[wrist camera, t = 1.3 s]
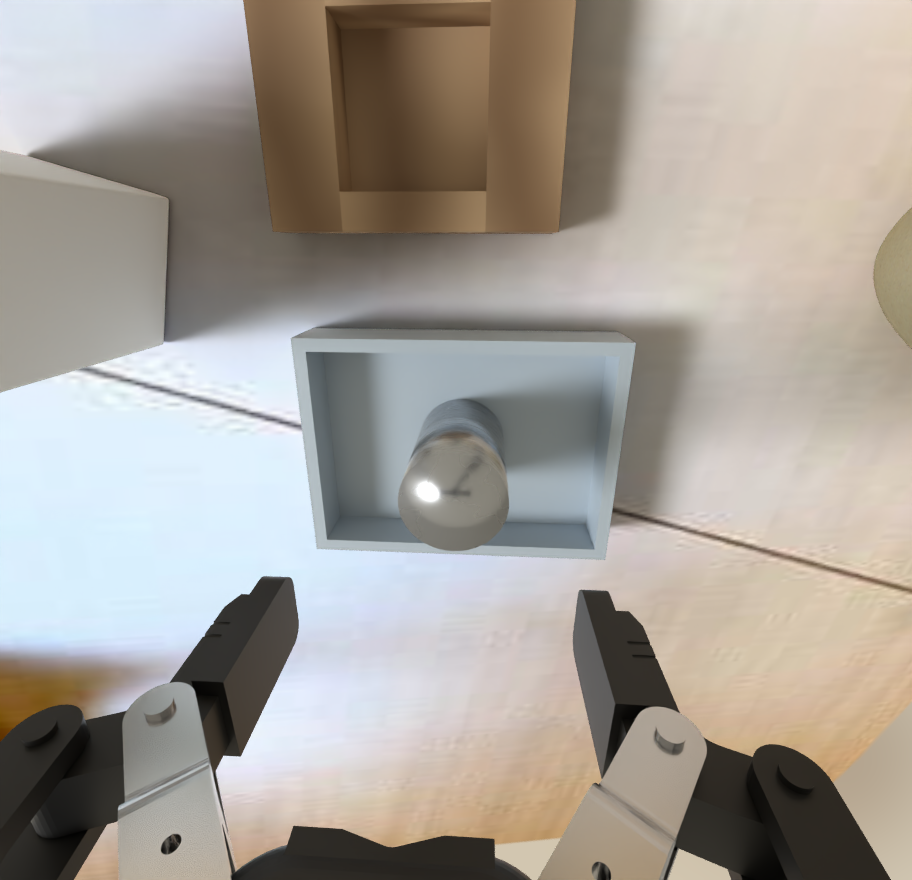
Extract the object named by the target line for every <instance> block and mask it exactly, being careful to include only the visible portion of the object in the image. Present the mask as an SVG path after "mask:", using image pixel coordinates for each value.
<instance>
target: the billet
mask: <svg viewBox="0 0 912 880" xmlns="http://www.w3.org/2000/svg"><path fill="white" fill-rule="evenodd" d="M398 508H399V512H400V516H401V518H402V520H403V522H404V524H405V525H406V527H407V528H408V530H409V531H410V532H411V533H412V534H413V535H414V536H415V537H416V538H418V539H419V540H420V541H422V542H424V543H425V544H427V545H429V546H432V547H434V548H437V549H441V550H446V551H464V550H470V549H474V548H476V547H479V546H481V545H483V544H485V543H487V542H488V541H490V540H491V539H492V538H493V537H494V536H496V535H497V533H498V532H499V531H500V530H501V528H502V527H503V525H504V523H505V521H506V519H507V515H508V511H509V494H508V483H507V471H506V460H505V449H504V437H503V430H502V427H501V424H500V422H499V420H498V418H497V417H496V415H495V414H494V413H493V412H492V411H491V410H490V409H489V408H487V407H486V406H484V405H483V404H481V403H479V402H476V401H473V400H469V399H454V400H449V401H446V402H444V403H442V404H440V405H438V406H437V407H435V408H434V409H433V410H432V411H431V412H430V413H429V414H428V415H427V417H426V418H425V420H424V422H423V425H422V428H421V430H420V433H419V436H418V439H417V441H416V444H415V447H414V450H413V452H412V455H411V458H410V461H409V463H408V466H407V469H406V471H405V474H404V477H403V480H402V482H401V485H400V488H399V493H398Z"/></svg>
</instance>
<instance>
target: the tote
mask: <svg viewBox="0 0 912 880" xmlns="http://www.w3.org/2000/svg"><path fill="white" fill-rule="evenodd" d="M291 344H292V352H293V360H294V368H295V376H296V384H297V392H298V400H299V408H300V417H301V425H302V433H303V441H304V449H305V457H306V465H307V473H308V481H309V489H310V497H311V505H312V513H313V521H314V529H315V537H316V545H317V549H333V550H359V551H386V552H412V553H438V554H465V555H491V556H517V557H544V558H570V559H596V560H605V558H606V551H607V544H608V537H609V530H610V522H611V515H612V508H613V501H614V494H615V487H616V480H617V473H618V466H619V459H620V452H621V445H622V438H623V431H624V424H625V417H626V410H627V403H628V396H629V389H630V382H631V375H632V368H633V361H634V354H635V347H636V343H635V342H634V341H632V340H631V339H629V338H628V337H626V336H624V335H623V334H621V333H620V332H605V331H524V330H443V329H362V328H312V329H310V330H308V331H305V332H303V333H301V334H299V335H297V336H294V337H292V338H291ZM454 399H469V400H473V401H476V402H479V403H481V404H483V405H484V406H486V407H487V408H489V409H490V410H491V411H492V412H493V413H494V414H495V415H496V417H497V418H498V420H499V422H500V424H501V427H502V430H503V437H504V449H505V460H506V471H507V483H508V494H509V511H508V515H507V519H506V521H505V523H504V525H503V527H502V528H501V530H500V531H499V532H498V533H497V535H496V536H494V537H493V538H492V539H491V540H490V541H488V542H487V543H485V544H483V545H481V546H479V547H476V548H474V549H470V550H464V551H446V550H441V549H437V548H434V547H432V546H429V545H427V544H425V543H424V542H422V541H420V540H419V539H418V538H416V537H415V536H414V535H413V534H412V533H411V532H410V531H409V530H408V528H407V527H406V525H405V524H404V522H403V520H402V518H401V516H400V512H399V508H398V493H399V488H400V485H401V482H402V480H403V477H404V474H405V471H406V469H407V466H408V463H409V461H410V458H411V455H412V452H413V450H414V447H415V444H416V441H417V439H418V436H419V433H420V430H421V428H422V425H423V422H424V420H425V418H426V417H427V415H428V414H429V413H430V412H431V411H432V410H433V409H434V408H435V407H437V406H438V405H440V404H442V403H444V402H446V401H449V400H454Z"/></svg>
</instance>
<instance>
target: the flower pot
mask: <svg viewBox="0 0 912 880" xmlns="http://www.w3.org/2000/svg"><path fill="white" fill-rule="evenodd" d="M874 286H875V290H876V295H877V298H878V301H879V303H880V306H881V308H882V311H883V313H884V314H885V316H886V318H887V319H888V321H889V323H890V324H891V325H892V327H893V328H894V330H895V331H896V332H897V333H898V335H899V336H900V337H901V338H902V339H903V340H904V341H905V343H906V344H907V345H908V346H909V347H910V348H911V349H912V208H911V209H910V210H909V211H908V212H907V213H906V214H905V215H904V216H903V217H902V218H901V219H900V220H899V221H898V222H897V224H896V225H895V226H894V227H893V229H892V230H891V231H890V232H889V234H888V235H887V237H886V238H885V240H884V242H883V243H882V245H881V247H880V249H879V252H878V254H877V257H876V261H875V265H874Z"/></svg>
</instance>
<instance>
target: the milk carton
mask: <svg viewBox="0 0 912 880" xmlns="http://www.w3.org/2000/svg"><path fill="white" fill-rule="evenodd" d="M168 214H169V199H168V198H166V197H164V196H161V195H158V194H155V193H151V192H148V191H145V190H141V189H138V188H134V187H131V186H128V185H124V184H121V183H117V182H114V181H111V180H107V179H104V178H101V177H97V176H94V175H90V174H87V173H84V172H80V171H77V170H73V169H70V168H67V167H63V166H60V165H56V164H53V163H50V162H46V161H43V160H39V159H36V158H32V157H29V156H25V155H21V154H16V153H12V152H7V151H2V150H0V392H4V391H7V390H10V389H14V388H17V387H20V386H24V385H27V384H31V383H34V382H37V381H41V380H44V379H48V378H51V377H54V376H58V375H61V374H64V373H68V372H71V371H75V370H78V369H81V368H85V367H88V366H91V365H95V364H98V363H102V362H105V361H108V360H112V359H115V358H118V357H122V356H125V355H129V354H132V353H135V352H139V351H142V350H146V349H149V348H152V347H156V346H159V345H162V344H163V342H164V319H165V294H166V268H167V242H168Z"/></svg>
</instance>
